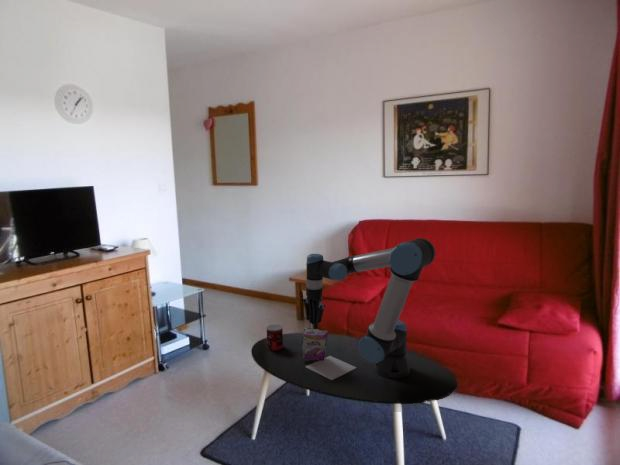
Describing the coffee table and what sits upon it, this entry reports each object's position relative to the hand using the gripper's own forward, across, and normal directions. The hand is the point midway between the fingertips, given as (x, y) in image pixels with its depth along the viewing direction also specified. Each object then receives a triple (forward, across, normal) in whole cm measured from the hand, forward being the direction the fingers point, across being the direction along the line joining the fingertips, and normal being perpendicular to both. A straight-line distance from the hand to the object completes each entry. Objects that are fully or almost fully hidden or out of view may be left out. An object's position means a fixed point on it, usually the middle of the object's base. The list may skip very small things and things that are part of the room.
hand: (313, 335), depth 205 cm
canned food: (+13, +24, +4) cm, 27 cm away
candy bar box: (+11, 0, -1) cm, 11 cm away
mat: (+12, -11, -1) cm, 16 cm away
